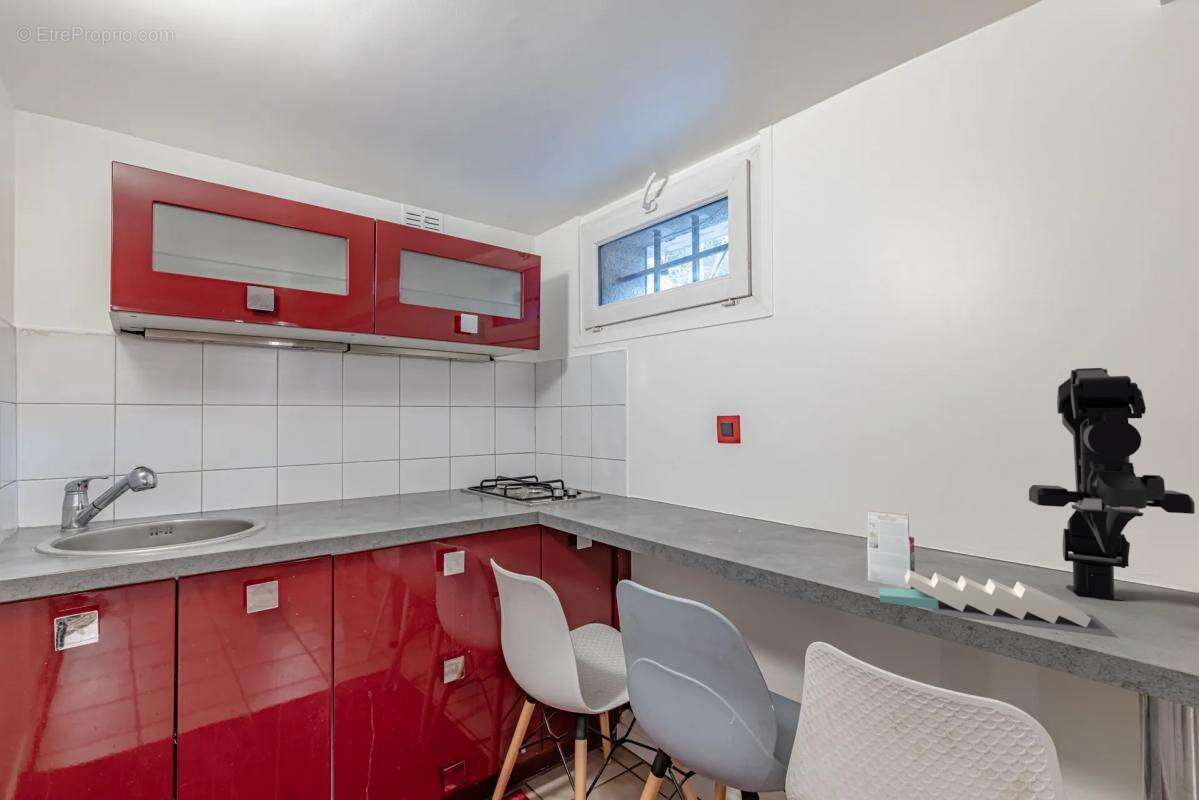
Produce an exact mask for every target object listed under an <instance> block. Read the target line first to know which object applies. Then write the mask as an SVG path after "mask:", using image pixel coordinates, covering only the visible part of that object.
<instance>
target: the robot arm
mask: <svg viewBox="0 0 1199 800" xmlns="http://www.w3.org/2000/svg"><path fill="white" fill-rule="evenodd" d="M1056 399H1057V401H1056V402H1057V403H1056V410H1057V415H1058V414H1061V420H1062V421H1061V422H1062V425H1063V426H1064V428H1065V429H1066V430H1067V431H1068V432H1069V433H1070V434H1071V436H1072V437H1073V438H1072V440H1073V441H1072V443H1073V456H1074V458H1073V461H1074V473H1075V474H1074V475H1075V491H1074V490H1068V488H1065V487H1062V486H1059V485H1048V484H1047V485H1045V484H1043V485H1042V484H1032V485H1031V486H1030V487H1029V489H1028V501H1029V502H1030V503H1034V504H1035V505H1037V506H1043V507H1058V508H1059V507H1061V508H1063V507H1065V506H1067V505H1068V504H1069V503H1073V504H1071V509H1073V510H1074V512H1073V513H1072V514H1071V516H1070V517H1069V519H1068V520H1067V528H1063V531H1062V532H1063V534H1062V543H1061V544H1062V557H1063V560H1064V562H1072V576H1073V577H1072V580H1073V583H1072V585H1071V584H1070V585H1068V584H1067V585H1066V586H1065V588H1066V589H1067V590H1069V591H1070V592H1072V593H1073V594H1074V595H1076V596H1077V597H1079V598H1080V597H1081V598H1089V599H1098V600H1099V599H1100V600H1107V601H1108V600H1109V601H1115V602H1124V599H1123V598H1122V597H1120V596H1119V595H1118V594H1116V593H1115V575H1114V573H1115V569H1114V568H1115V567H1117V568H1121V569H1126V568H1127V567H1129V566H1130V565H1129V557H1130V556H1129V555H1130V548H1131V543H1130V542H1129V541H1128V540H1127V537H1126V536H1125V535H1126V534H1124V533H1123V531H1124V529H1125V528H1126V526H1127V524H1128V523H1129V522H1131V520H1133V519H1134V518H1135V517H1143V516H1144V512H1141V511H1140V510H1142V509H1146V508H1147V507H1152V508H1161V509H1162V510H1163V511H1165V512H1166V513H1172V514H1175V513H1176V514H1189V515H1190V514H1191V515H1192V514H1195V511H1196V510H1195V502H1194V499H1193V497H1191V496H1190V495H1189V494H1187V493H1185V492H1184V493H1183V492H1179V491H1176V490H1168V489H1166V487H1165V485H1166V484H1165V479H1164V477H1162V476H1161V475H1155V474H1143V475H1142V476H1136V473H1135V467H1134V464H1133V463H1134V462H1131V461H1130V456H1132V455H1134V454H1135V453H1136V452H1138V450H1140V449H1139V448H1140V447H1141V445H1142V436H1141V434H1140V432H1139V430H1138V429H1137V428H1136V427H1135V426H1134V425H1132V424H1131V423H1129V419H1142V418H1143V415H1145V414H1146V408H1147V406H1146V403H1145V399H1144V396H1143V391H1142V389H1140V388H1139V387H1138V384H1137V382H1132V380H1131V378H1130V376H1129V375H1116V376H1115V375H1112V376H1111V375H1110V374H1108V370H1107V368H1102V367H1091V368H1089V367H1088V368H1087V367H1086V368H1085V367H1084V368H1075V369H1072V370H1070V377H1069V378H1068V379H1066V380H1065V381H1064V382H1063V383H1061V384H1059V386H1058V387H1057V398H1056Z"/></svg>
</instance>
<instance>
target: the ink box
mask: <svg viewBox="0 0 1199 800" xmlns="http://www.w3.org/2000/svg"><path fill="white" fill-rule="evenodd" d="M886 516H888V517H890V518H894V519H896V520H886V519H880V518H879V517H886ZM909 517H910V516H909V514H902V513H893V512H882V511H875V510H867V535H866V536H867V537H866V539H867V541H866V543H867V545H866V546H867V547H866V548H867V550H866V551H867V581H868V582H874V583H878V584H883V585H889V586H894V587H898V588H902V589H908V590H912V589H914V588H913V587H911V586H909V585H907V584H906V580H905V575H906V573H907V571H908V569H909V570H911V571H913V572H915V573H916V567H915V565H916V564H915V559H916V558H915V537H913V536H910V530H909V529H910V528H909V527H910V525H909V523H910V522H909V521H910V519H909Z"/></svg>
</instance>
